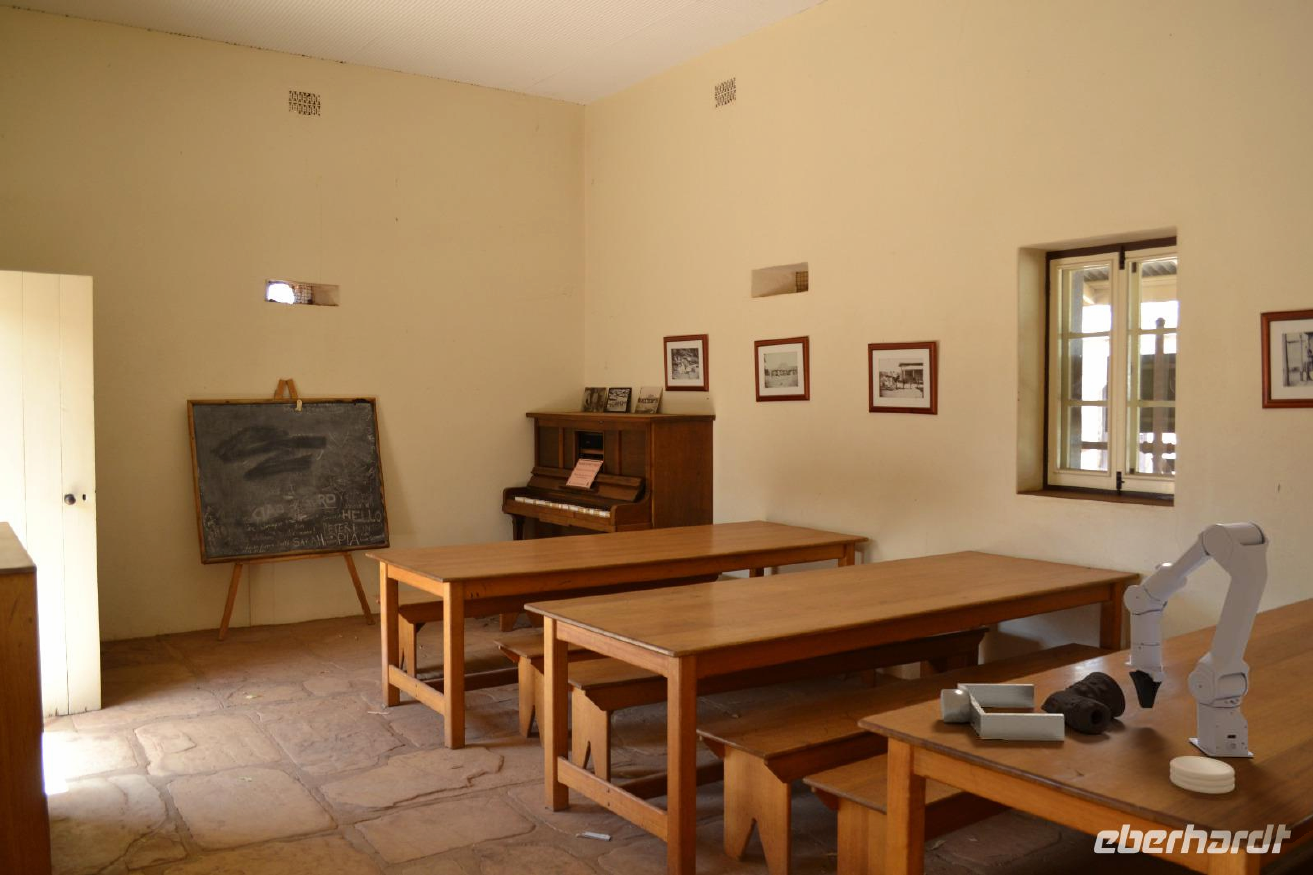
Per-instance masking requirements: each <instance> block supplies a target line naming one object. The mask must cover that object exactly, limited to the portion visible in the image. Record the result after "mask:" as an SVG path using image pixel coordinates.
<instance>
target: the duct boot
mask: <svg viewBox="0 0 1313 875" xmlns="http://www.w3.org/2000/svg"><path fill="white" fill-rule="evenodd" d="M981 707H993V708H995V709H998V708H999V709H1034V708H1035V685H1034V684H1033V683H957V688H954V689H953V688H951V689H945V688H943V689H942V688H941V691H940V712H941V718H942V721H943V720H944V721H943V722H944V723H964V722H970V723H971V724H972V726H973V727H974V728H975V730H976V732H978V734H979V736H980V737H981V738H990V739H1003V740H1002V741H1054V742H1055V741H1057V742H1058V741H1060V742H1061V741H1062V742H1064V741H1065V721H1064V715H1063V714H1048V713H1011V712H1010V713H1008V712H1007V713H1004V712H1001V713H999V712H998V713H997V712H995V713H993V712H989V713H986V712H985V711H984V708H981ZM993 708H992V709H993ZM970 723H969V724H970ZM971 724H970V725H971ZM972 726H971V727H972ZM973 727H972V728H973ZM975 730H974V731H975ZM976 732H975V733H976ZM979 736H978V737H979Z"/></svg>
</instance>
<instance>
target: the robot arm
mask: <svg viewBox="0 0 1313 875" xmlns="http://www.w3.org/2000/svg"><path fill="white" fill-rule="evenodd" d="M1269 544H1270V540H1269V538H1268V537H1267V535H1266V533H1265V532H1264V530H1263V529H1262V528H1261V526H1260V525H1259V524H1258V523H1256V522H1253V521H1247V520H1246V521H1242V522H1235V523H1224V524H1223V523H1221V524H1220V523H1213V524H1211V525H1208V526H1207V527H1206V528H1205V529H1204V530H1203V531H1201V532H1199V533H1198V535H1197V538H1196V539H1195V541H1193V543H1192V544H1191V545H1190V546H1189V547H1188V548H1186V550H1185V551H1184V552H1183V553H1182V554H1180V555H1179V557H1177V559H1175V561H1174V562H1173V563H1169V562H1165V563H1158V564H1157V565H1156V566H1155V567H1154V569H1155V571H1153V572H1152V573H1151V574H1150V575H1149V576H1147V577H1144V578H1142V579H1141V582H1140V584H1139V585H1136V584H1135V585H1134V584H1133V585H1132V584H1131V585H1129V586H1128V587H1127V588H1126V590H1125V591H1124V594H1123V601H1124V605H1125V608H1126V609H1127V610H1128V611H1129V613H1130V615H1129V616H1130V654H1129V655H1128V661H1127V662H1124V667H1126V668H1128V669H1129V668H1130V669H1135V671H1129V672H1128V675H1129V676H1130V679H1131V680H1132V683H1133V685H1134V687H1135V688H1134V689H1135V692H1136V695H1137V699H1138V704H1139V707H1141V708H1142V709H1153V708H1154V704H1155V700H1156V697H1157V695H1158V694H1157V693H1158V690H1159V688H1160V686H1161V684H1163V683H1165V682H1166V674H1165V673H1166V672H1165V671H1164V670H1163V669H1164V668H1163V664H1162V620H1163V619H1164V611H1165V610H1166V608H1167V606H1168V604H1169V600H1170V599H1171V598H1172V597H1173V596H1174V595H1176V594H1177V593H1178V592H1179V591H1181V589H1183V588H1184V587H1185V586H1186V585H1187V583H1188V578H1187V576H1189V575H1191V574H1192V573H1193V572H1194V571H1196V570H1197V569H1199V568H1200V567H1201V566H1203V565H1204V564H1205V563H1207V562H1208V561H1209V560H1211V559H1213V560H1214V561H1215V562H1216V563H1217V564H1218V565H1219V566H1220V567H1221V568H1222V569H1223V570H1224V571H1225V572H1226V573H1228V574H1229V576H1230V578H1231V579H1230V582H1229V585H1228V589H1227V593H1226V596H1225V598H1224V603H1223V606H1222V610H1221V613H1220V616H1219V619H1218V623H1217V626H1216V630H1215V633H1214V636H1213V639H1212V642H1211V646H1210V650H1209V651H1208V652H1207V653H1206V654H1205V655H1204V656H1203V657H1201V658H1200V659H1199V660H1198V661H1197V663H1196V667H1195V668H1194V670H1192V672H1190V674H1189V675H1188V678H1187V687H1188V691H1189V692H1190V694H1191V696H1192V697H1193V698H1194V702H1196V706H1197V707H1196V708H1197V710H1196V711H1197V712H1196V714H1197V715H1196V716H1197V717H1196V718H1197V719H1196V724H1197V725H1196V726H1197V731H1196V733H1197V735H1196V736H1197V737H1193V738H1192V737H1190V738H1188V741H1189V742H1190V743H1192V744H1193V745H1194V746H1195V747H1196V748H1198V749H1200V750H1201V751H1202V752H1203V753H1205V754H1206V755H1207V756H1208V757H1209V756H1210V757H1228V758H1229V757H1233V758H1234V757H1237V758H1238V757H1241V758H1243V757H1244V758H1245V757H1246V758H1247V757H1248V758H1251V757H1252V758H1253V757H1254V753H1252V752H1251V751H1249V723H1248V721H1247V719H1246V717H1245V716H1244V715H1243V714H1242V712H1241V703H1243V697H1244V696H1245V695H1246V694H1247V693H1248V691H1249V687H1250V682H1249V672H1250V669H1251V668H1250V666H1249V665H1248V664H1247V662H1245V660H1243V658H1244V655H1245V651H1246V648H1247V645H1248V642H1249V638H1250V636H1251V633H1252V629H1253V626H1254V622H1255V620H1256V616H1257V612H1258V609H1259V606H1260V603H1261V600H1262V597H1263V594H1264V591H1265V587H1266V584H1267V581H1268V574H1269V573H1268V564H1267V551H1268V547H1269Z"/></svg>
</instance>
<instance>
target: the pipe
mask: <svg viewBox="0 0 1313 875" xmlns="http://www.w3.org/2000/svg"><path fill="white" fill-rule="evenodd" d="M1040 709H1041V710H1042V711H1044V712H1045V713H1046V714H1063V715H1064V722H1066V723H1067V724H1068V725H1069V726H1070V727H1071V728H1073V729H1076V730H1077V731H1080V732H1081V733H1084V734H1085V733H1086V734H1099V733H1101V732H1103V731H1104V730H1105V729H1106V727H1108V725H1109V723H1110V721H1111V719H1112V718H1119V717H1121V716H1122V715H1123V714H1124V712H1125V710H1126V697H1125V694H1124V692H1123V689H1122V687H1121V686H1120V685H1119V683H1118V682H1117V681H1116V680H1115V679H1114V678H1113V676H1110V674H1107V673H1105V672H1101V671H1093V672H1090V673H1089V674H1087V675H1085V677H1083V679H1081V680H1078V681H1076V682H1074V683H1073V684H1071V685H1069V686H1068V687H1066V688H1065V690H1057V691H1055V692H1053V693H1051V694H1050V695H1049V696H1048V697H1047V698H1046V699H1045V700H1044V703H1043V704H1042V705H1041V706H1040Z"/></svg>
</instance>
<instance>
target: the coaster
mask: <svg viewBox="0 0 1313 875" xmlns="http://www.w3.org/2000/svg"><path fill="white" fill-rule="evenodd" d="M1169 767H1170V769H1169V773H1170V775H1169V779H1170V781H1171V782H1172V783H1173V784H1174V785H1175V786H1178V787H1179V788H1182V789H1185V790H1188V791H1192V792H1194V793H1195V792H1197V793H1203V794H1212V795H1215V794H1218V795H1219V794H1225V793H1230V792H1232V791H1233V790H1234V789H1235V786H1236V784H1235V781H1236V778H1235V773H1236V772H1235V769H1234V768H1233V766H1231V765H1230V764H1229V763H1226V762H1224V761H1222V760H1218V759H1215V758H1210V757H1205V756H1197V755H1196V756H1195V755H1194V756H1193V755H1190V756H1189V755H1185V756H1177V757H1175V758H1173V759H1171V760H1170V762H1169Z"/></svg>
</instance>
